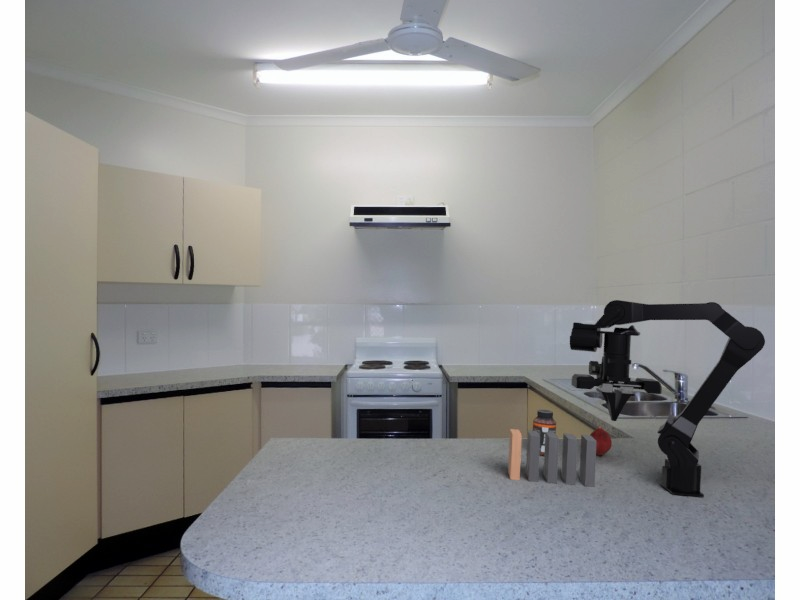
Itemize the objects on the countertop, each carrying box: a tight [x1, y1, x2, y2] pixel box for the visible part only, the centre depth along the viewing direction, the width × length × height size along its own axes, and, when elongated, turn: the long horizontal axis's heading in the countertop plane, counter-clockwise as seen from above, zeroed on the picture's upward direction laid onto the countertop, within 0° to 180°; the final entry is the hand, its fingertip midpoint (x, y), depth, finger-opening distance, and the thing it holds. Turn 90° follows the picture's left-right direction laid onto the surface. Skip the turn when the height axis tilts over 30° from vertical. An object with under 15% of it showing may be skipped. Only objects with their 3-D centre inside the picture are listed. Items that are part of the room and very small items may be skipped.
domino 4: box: [561, 432, 578, 486], centre depth 111 cm, size 2×5×10 cm, turn 173°
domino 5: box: [579, 434, 597, 488], centre depth 111 cm, size 2×5×10 cm, turn 173°
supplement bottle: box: [532, 409, 557, 457], centre depth 132 cm, size 6×6×11 cm
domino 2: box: [525, 430, 540, 483], centre depth 112 cm, size 2×5×10 cm, turn 173°
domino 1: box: [507, 428, 523, 481], centre depth 113 cm, size 2×5×10 cm, turn 173°
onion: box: [589, 425, 613, 456], centre depth 133 cm, size 6×6×8 cm
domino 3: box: [543, 432, 560, 484], centre depth 112 cm, size 2×5×10 cm, turn 173°
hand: (613, 420), depth 116 cm, fingers closed
